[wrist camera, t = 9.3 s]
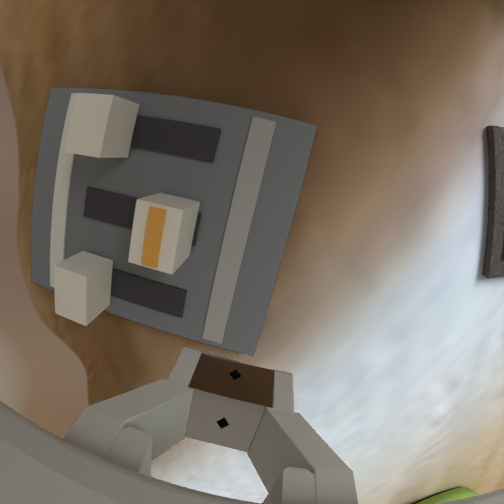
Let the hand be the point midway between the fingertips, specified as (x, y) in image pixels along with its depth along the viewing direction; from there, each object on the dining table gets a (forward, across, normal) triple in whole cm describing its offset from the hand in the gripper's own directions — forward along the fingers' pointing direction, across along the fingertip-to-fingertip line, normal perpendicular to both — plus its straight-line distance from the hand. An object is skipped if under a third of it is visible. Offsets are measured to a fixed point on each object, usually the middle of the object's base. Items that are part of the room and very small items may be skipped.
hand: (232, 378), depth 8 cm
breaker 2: (+15, +12, +6) cm, 20 cm away
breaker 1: (+15, +12, -6) cm, 20 cm away
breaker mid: (+15, +6, 0) cm, 16 cm away
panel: (+17, +9, 0) cm, 19 cm away
